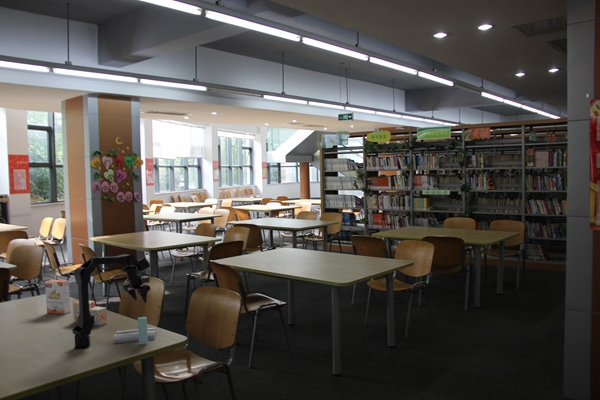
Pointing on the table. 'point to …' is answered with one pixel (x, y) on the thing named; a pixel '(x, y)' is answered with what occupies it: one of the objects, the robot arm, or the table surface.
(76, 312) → the stack of blocks
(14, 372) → the table surface
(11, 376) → the table surface
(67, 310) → the cracker box
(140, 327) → the pale teal block
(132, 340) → the floor track
